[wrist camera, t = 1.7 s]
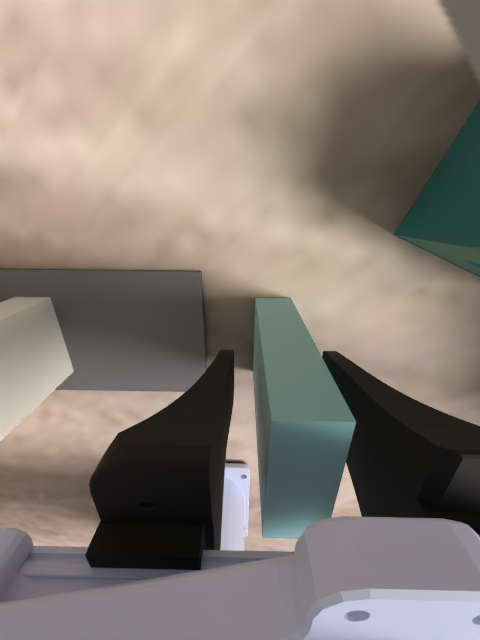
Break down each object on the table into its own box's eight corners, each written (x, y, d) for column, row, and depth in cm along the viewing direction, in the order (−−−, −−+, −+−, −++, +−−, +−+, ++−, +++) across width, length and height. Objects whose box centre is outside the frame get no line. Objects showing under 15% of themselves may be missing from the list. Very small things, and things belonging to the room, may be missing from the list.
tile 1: (283, 371, 16) (325, 539, 8) (253, 370, 16) (262, 538, 8) (290, 298, 14) (355, 422, 6) (255, 297, 14) (271, 420, 6)
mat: (207, 389, 17) (207, 392, 17) (-143, 383, 17) (-149, 386, 17) (201, 271, 14) (200, 272, 13) (-232, 266, 14) (-241, 267, 14)
